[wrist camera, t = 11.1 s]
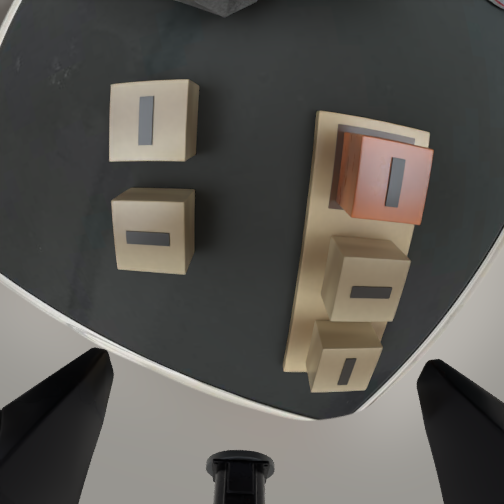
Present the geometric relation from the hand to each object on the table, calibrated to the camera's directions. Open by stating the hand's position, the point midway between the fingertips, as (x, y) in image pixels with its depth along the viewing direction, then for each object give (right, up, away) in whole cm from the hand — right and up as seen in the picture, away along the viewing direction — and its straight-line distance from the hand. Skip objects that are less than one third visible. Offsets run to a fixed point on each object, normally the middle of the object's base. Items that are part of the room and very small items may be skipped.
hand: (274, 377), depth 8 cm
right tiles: (+6, -1, +12) cm, 14 cm away
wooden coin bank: (+6, +8, +9) cm, 13 cm away
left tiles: (-6, +8, +10) cm, 14 cm away
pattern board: (+6, +3, +12) cm, 14 cm away
